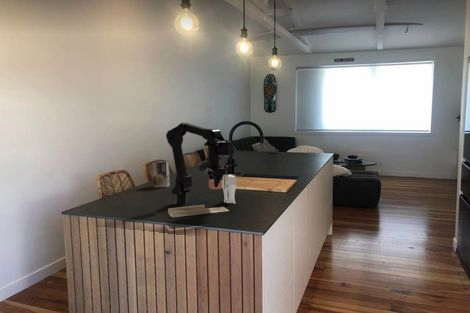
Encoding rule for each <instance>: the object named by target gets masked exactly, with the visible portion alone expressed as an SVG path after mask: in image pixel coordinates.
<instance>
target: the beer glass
mask: <svg viewBox="0 0 470 313" xmlns="http://www.w3.org/2000/svg"><path fill="white" fill-rule="evenodd" d="M236 187H237V180H236V174H224V175H223V176H222V189H223V196H224V198H223V202H224V203H226V204H236V199H235V194H236Z"/></svg>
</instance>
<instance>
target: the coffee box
mask: <svg viewBox="0 0 470 313" xmlns="http://www.w3.org/2000/svg"><path fill="white" fill-rule="evenodd" d="M169 162H170V161H169V160H167V161H166V160H165V161H160V160H159V161H154V162H152V175H153V188H169V186H170V166H169V164H170V163H169Z"/></svg>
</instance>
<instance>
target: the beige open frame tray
mask: <svg viewBox="0 0 470 313" xmlns="http://www.w3.org/2000/svg"><path fill="white" fill-rule="evenodd" d="M220 212H222V213H223V212H230V210H229V209H228V208H227V207H224V206H218V207H209V208H206V206H205V204H200V205H190V206H183V207H182V206H181V207H172V208H167V213H168V215H169V216H170V217H171V218H179V217H187V216H189V217H190V216H196V215H203V214H204V215H205V214H214V213H220Z"/></svg>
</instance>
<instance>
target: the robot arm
mask: <svg viewBox="0 0 470 313" xmlns="http://www.w3.org/2000/svg"><path fill="white" fill-rule="evenodd" d="M187 133H190V134H194V135H197V136H199V137H202V138H203V139H204V140H205V141H206V142H205V143H204V144H203V145H204V146H206V147H207V156H206V157H205V160H203V161H200V162H198V163H196V164H195V165H196V167H197V170H198V171H199V172H203V171H204V172H205V174H207V175H208V178H209V179H208V180H210V179H214V185H215V188H217V187H218V185H219V182H220V180H222V179H223V175H227V169H226V168H224V167H222V165H221V164H220V160H222V157H233V155H234V154H235V148H234V145H233V144H232V141H226V140H225V138H224V136H223V134H222V132H221V130H220V129H219V128H206V127H203V126H198V125H194V124H191V123H189V122H181V123H179V124H178V125H177V126H175V127H173V128H172V129H169V130H168V131H167V132H166V133H165V138H166V140H167V143H168V145H169V146H170V147H171V149H172V150H171V151H172V155H173V159H174V160H173V161H174V165H175V172H176V177H175V186H174V187H173V188H172V189H171V194H172V195H175V202H174V203H173V204H174V205H183V206H184V205H187V203H188V199H187V198H188V197H187V196H188V194H187V193H190V192H191V189H192V187H193V184H194V182H193V178H192V175H189V174H188V173H187V169H186V164H185V159H184V153H183V147H182V145H183V142H184V136H186V134H187Z"/></svg>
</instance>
